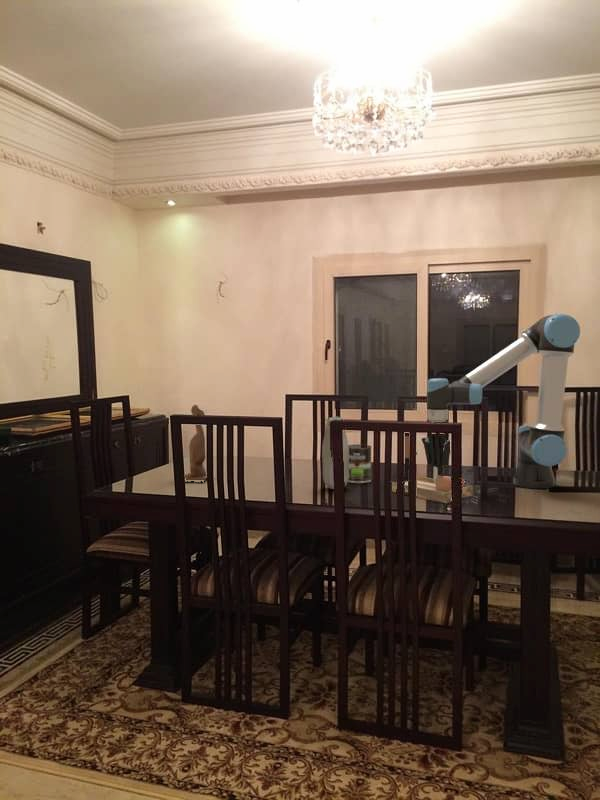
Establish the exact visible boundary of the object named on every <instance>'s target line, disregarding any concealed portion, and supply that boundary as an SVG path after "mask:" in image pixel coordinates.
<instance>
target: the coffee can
mask: <svg viewBox="0 0 600 800" xmlns="http://www.w3.org/2000/svg"><path fill="white" fill-rule="evenodd" d="M361 445H362V444H348V446H349V479H348V483H351V484H352V483H353V484H366V483H370V482H372V446H371V445H368V444H366V445H367V448H361Z"/></svg>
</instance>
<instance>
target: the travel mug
mask: <svg viewBox="0 0 600 800" xmlns="http://www.w3.org/2000/svg"><path fill="white" fill-rule="evenodd" d="M416 455H417V456H418V451H417V452H416ZM408 470H409V433H405V478H404V479H406V478H408Z"/></svg>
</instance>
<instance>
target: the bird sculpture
mask: <svg viewBox="0 0 600 800" xmlns="http://www.w3.org/2000/svg"><path fill="white" fill-rule="evenodd" d="M190 412H191V415H192V416H193V415H197V416H205V417H206V415H205V412H204V411H203V410H202V409H200V408H199V406H198V405H197V404H194V405H192V407H191V410H190ZM195 430H196V433H195V434H194V435H193V437H192V438H191V440H190V442H189V447H188V448H189V471H190V472H189V473H187V474H184V476H185V478H186V480H205V481H206V480H207V478H206V473H207V471H206V469H205V466H204V462H205V461H206V438H205V431H204V428H203V426H202V424H201V425H195Z"/></svg>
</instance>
